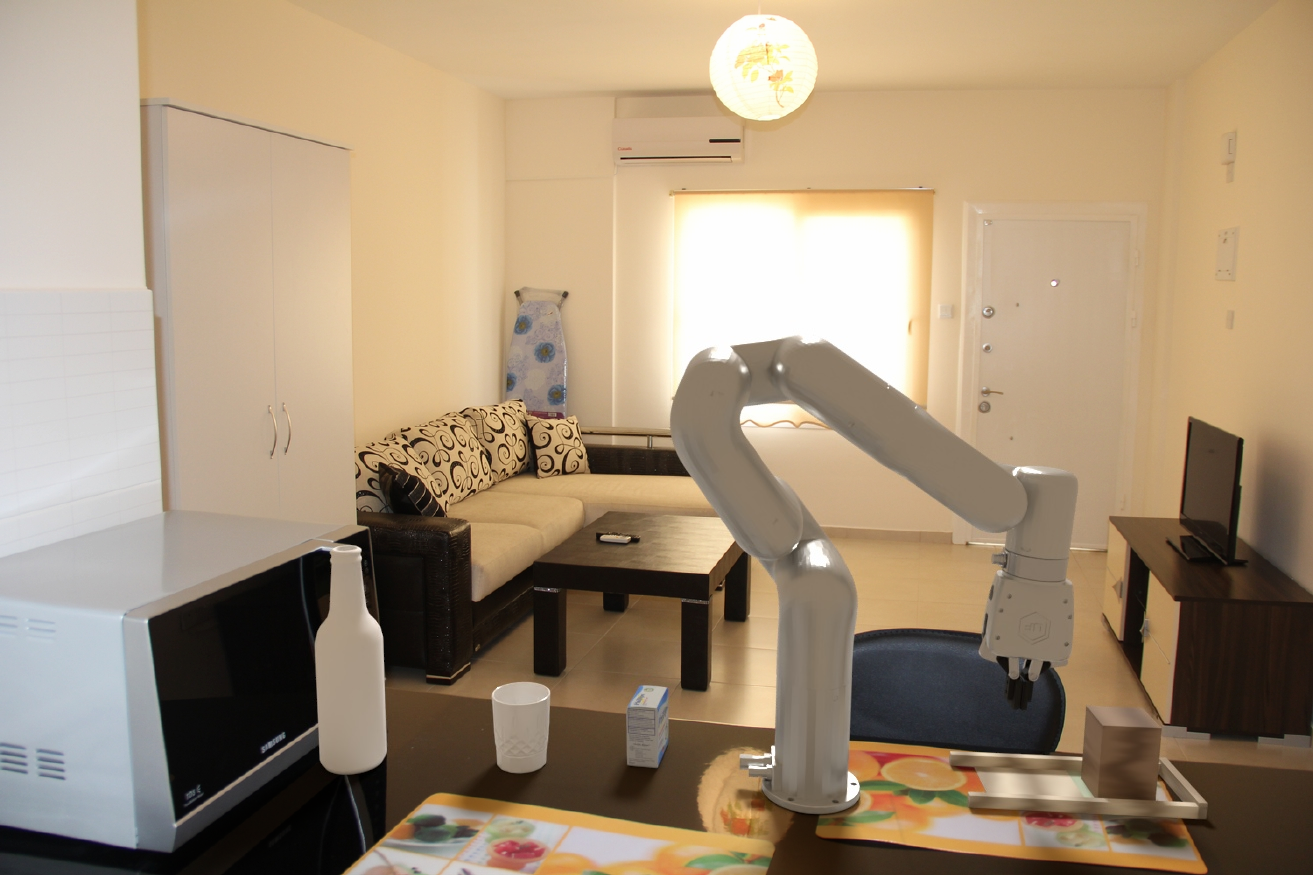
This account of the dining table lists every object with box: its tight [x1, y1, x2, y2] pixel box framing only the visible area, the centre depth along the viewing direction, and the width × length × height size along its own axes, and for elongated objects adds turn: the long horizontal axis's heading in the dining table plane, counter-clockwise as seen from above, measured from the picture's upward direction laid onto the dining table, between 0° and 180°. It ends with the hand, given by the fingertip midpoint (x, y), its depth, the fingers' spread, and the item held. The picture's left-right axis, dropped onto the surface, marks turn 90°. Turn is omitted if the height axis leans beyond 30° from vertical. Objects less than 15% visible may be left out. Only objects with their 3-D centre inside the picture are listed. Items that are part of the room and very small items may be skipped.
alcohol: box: [314, 544, 388, 775], centre depth 134 cm, size 9×9×30 cm
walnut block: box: [1081, 705, 1163, 801], centre depth 125 cm, size 7×6×10 cm
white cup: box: [491, 681, 551, 774], centre depth 135 cm, size 8×8×10 cm
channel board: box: [948, 750, 1209, 820], centre depth 127 cm, size 28×12×4 cm, turn 85°
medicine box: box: [625, 684, 669, 769], centre depth 138 cm, size 8×4×9 cm, turn 168°
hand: (1016, 705), depth 126 cm, fingers closed
